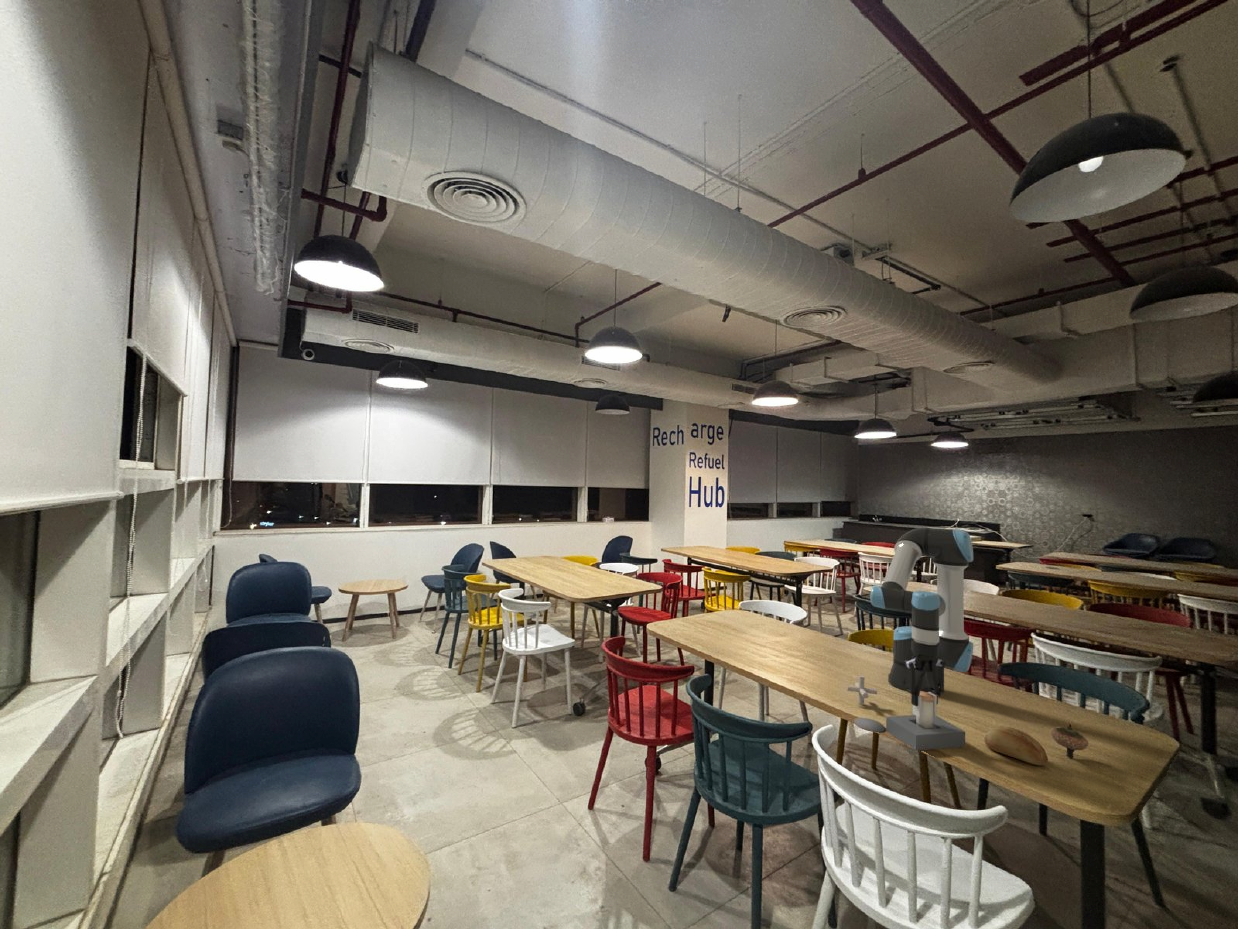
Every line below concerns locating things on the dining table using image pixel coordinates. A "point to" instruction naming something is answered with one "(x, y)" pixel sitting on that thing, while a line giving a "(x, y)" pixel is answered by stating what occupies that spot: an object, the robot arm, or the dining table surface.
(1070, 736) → the brown spinning top
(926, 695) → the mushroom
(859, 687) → the pipe connector
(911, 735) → the grey flat block
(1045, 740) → the dining table surface
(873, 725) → the grey round plate
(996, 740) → the bread roll
